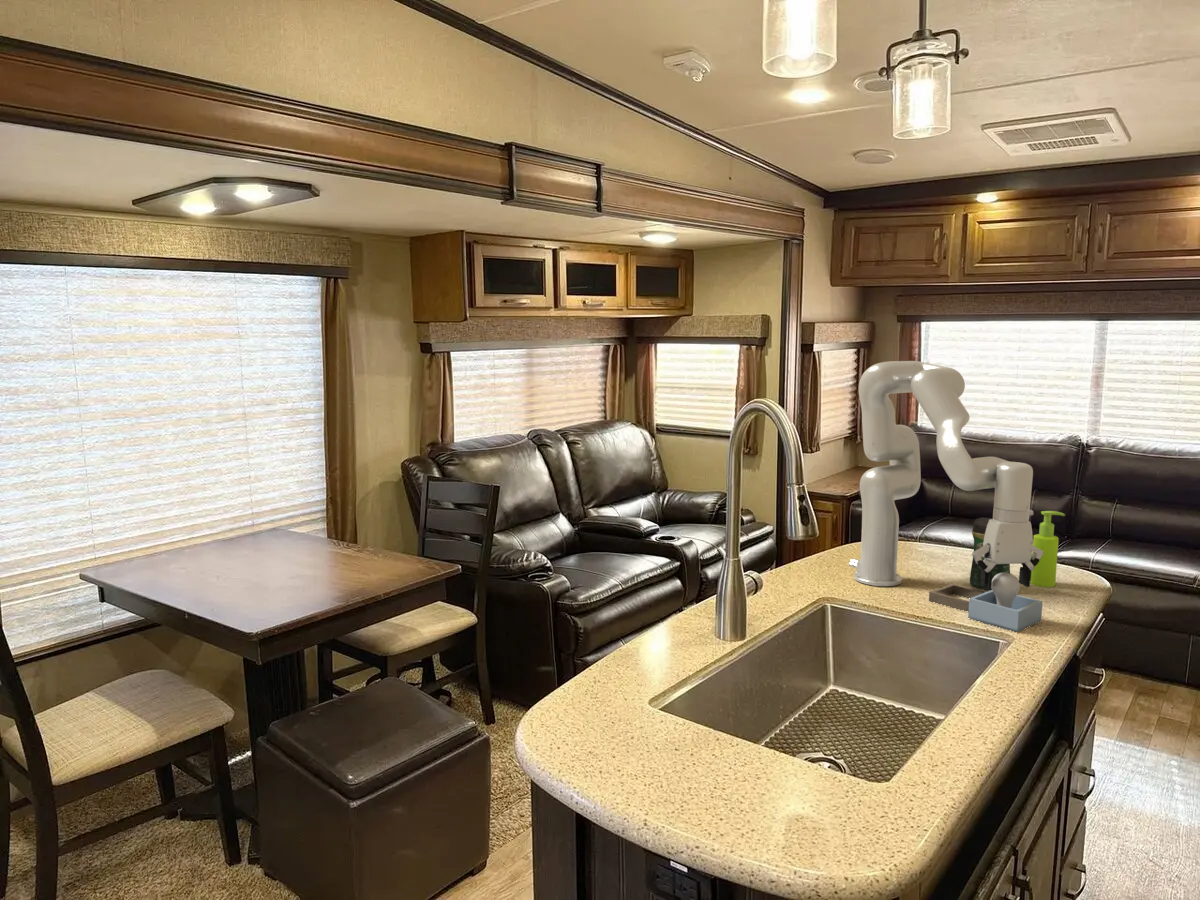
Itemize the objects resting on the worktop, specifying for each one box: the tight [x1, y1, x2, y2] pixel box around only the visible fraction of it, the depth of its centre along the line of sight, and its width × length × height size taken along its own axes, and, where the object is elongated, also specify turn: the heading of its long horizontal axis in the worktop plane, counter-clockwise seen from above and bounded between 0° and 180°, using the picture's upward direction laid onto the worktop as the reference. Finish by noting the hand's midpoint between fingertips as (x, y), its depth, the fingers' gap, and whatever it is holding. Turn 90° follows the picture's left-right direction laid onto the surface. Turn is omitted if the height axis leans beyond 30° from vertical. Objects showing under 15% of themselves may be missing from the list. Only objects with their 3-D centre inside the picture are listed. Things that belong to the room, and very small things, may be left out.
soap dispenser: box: [1030, 510, 1066, 588], centre depth 219 cm, size 6×7×20 cm
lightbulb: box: [991, 572, 1021, 608], centre depth 193 cm, size 6×6×11 cm
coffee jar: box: [969, 517, 1011, 591], centre depth 217 cm, size 10×8×19 cm
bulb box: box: [967, 590, 1044, 633], centre depth 193 cm, size 12×12×5 cm
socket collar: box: [928, 583, 986, 612], centre depth 206 cm, size 11×11×2 cm
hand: (1005, 585), depth 193 cm, fingers open, 9 cm apart
